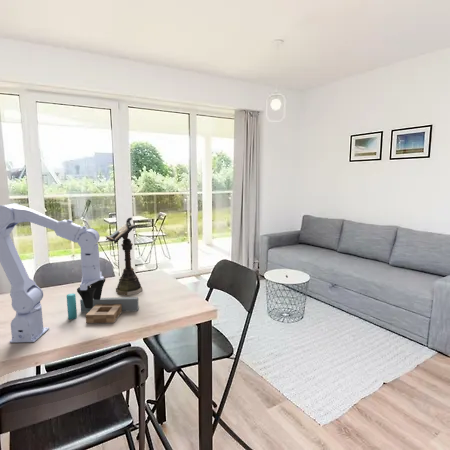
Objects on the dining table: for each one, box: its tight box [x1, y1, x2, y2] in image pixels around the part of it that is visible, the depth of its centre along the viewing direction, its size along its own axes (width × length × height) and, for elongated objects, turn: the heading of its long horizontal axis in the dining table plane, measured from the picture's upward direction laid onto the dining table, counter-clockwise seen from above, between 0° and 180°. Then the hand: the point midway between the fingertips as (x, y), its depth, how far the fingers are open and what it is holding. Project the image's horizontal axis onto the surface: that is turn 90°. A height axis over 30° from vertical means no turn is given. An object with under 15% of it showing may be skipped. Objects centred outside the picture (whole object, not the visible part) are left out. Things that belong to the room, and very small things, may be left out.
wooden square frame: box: [85, 304, 123, 324], centre depth 121 cm, size 10×10×3 cm
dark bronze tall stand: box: [105, 217, 143, 296], centre depth 145 cm, size 17×13×35 cm
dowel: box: [66, 293, 78, 321], centre depth 120 cm, size 3×3×9 cm
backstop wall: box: [79, 296, 139, 313], centre depth 128 cm, size 4×22×5 cm, turn 92°
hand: (93, 303), depth 110 cm, fingers open, 7 cm apart
